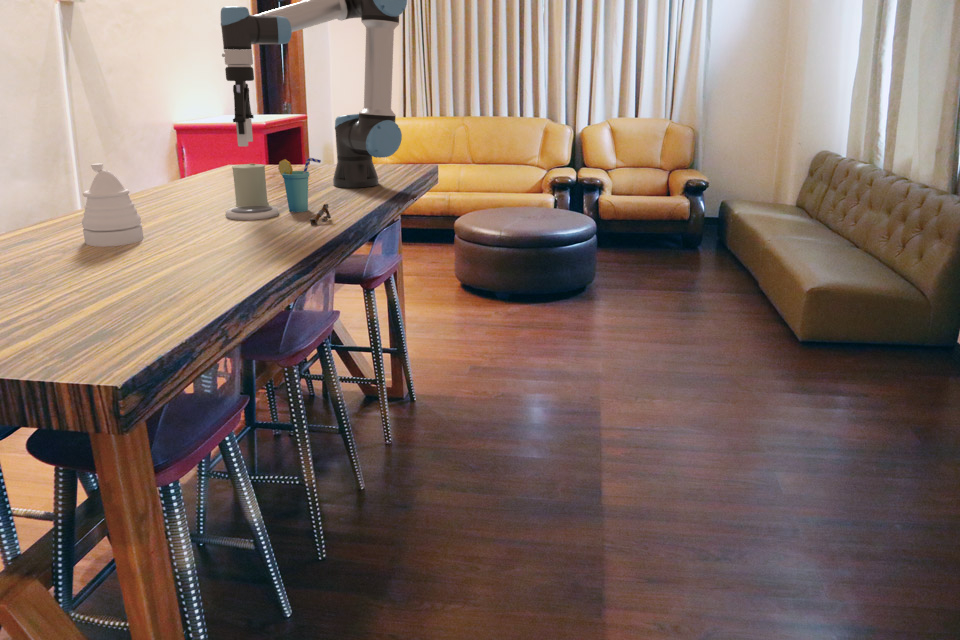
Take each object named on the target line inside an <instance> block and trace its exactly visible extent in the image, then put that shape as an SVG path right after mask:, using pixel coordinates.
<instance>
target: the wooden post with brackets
mask: <svg viewBox="0 0 960 640" xmlns="http://www.w3.org/2000/svg"><path fill="white" fill-rule="evenodd" d="M328 208H329V203H324V204H323V205H322V207H321V209H320V210H319V211H318V212H317V213H316V215H315V216H314V217H313V218H309V222H310V225H312V226H313V225H315V226H317V225H318V221H319V220H320V218H321V217H322V216H323V218H321V222H322V223H326V222H327V221H328V220H330V219H331V218H332V217H331V213H330V212H329V209H328ZM324 213H325V214H326V215H325V216H324Z"/></svg>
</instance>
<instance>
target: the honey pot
mask: <svg viewBox="0 0 960 640" xmlns="http://www.w3.org/2000/svg"><path fill="white" fill-rule="evenodd" d="M90 167H91V169H92V170H93V171H94V172H96V173H97V174H96V175H95V176H94V178H93V180H92V182H91V185H90V188H89V189H88V190H85V191H83V193H82V196H83V197H85V198H86V203H85V205H84V207H83V208H84V212H83V218H82V219H81V224H82V228H83V229H82V231H83V238H84V243H85V245H87V246H91V247H101V248H102V247H116V246H117V247H118V246H126V245H132V244H135V243H139V242H141V241H142V240H143V241H144V232H143V224H142V217H141V214H139V213H138V209H137V208H136V207H135V202H133V201H132V199H131V196H130V195H129V194H130V190H129V189H128V188H125V187H124V184H123V183H122V182H121V180H120V179H119V178H118V177H117V176H116V175H115V174H114V173H113V172H112V171H110V170H108V169H103V168H104V163H102V162H101V163H90Z"/></svg>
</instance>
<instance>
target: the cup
mask: <svg viewBox="0 0 960 640" xmlns="http://www.w3.org/2000/svg"><path fill="white" fill-rule="evenodd" d="M310 162H314V163H319V164H321V162H322V160H321V159H317V158H314V157H308V158H307V159H306V161H305V166H304V168H303V170H293V166H292V164H291V162H290V161H288V160H287V159H286V158H285V159H282V160H280V161H279V162H278V170H279V171H278V172H279V174H280V176H282V179H283V183H284V187H285V193H286V199H287V205H288V211H290V212H291V213H304V212H308V210H309V178H310V171H308V168H309V164H310Z"/></svg>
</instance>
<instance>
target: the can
mask: <svg viewBox="0 0 960 640" xmlns="http://www.w3.org/2000/svg"><path fill="white" fill-rule="evenodd" d="M265 166H266V165H265V164H261V163H260V164H259V163H246V164H245V163H244V164H243V163H241V164H236V165H233V166H232V167H231V168H232V175H233V185H234V193H235V195H234V196H235V207H240V206H250V205H267V206H269V201H268V192H267V191H268V190H267V182H266V181H267V180H266V167H265Z"/></svg>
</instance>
